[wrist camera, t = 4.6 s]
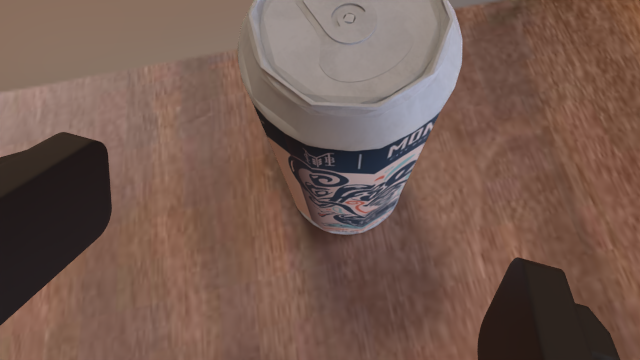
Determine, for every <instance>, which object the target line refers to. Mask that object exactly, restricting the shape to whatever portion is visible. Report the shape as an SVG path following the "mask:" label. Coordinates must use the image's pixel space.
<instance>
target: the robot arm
mask: <svg viewBox="0 0 640 360" xmlns="http://www.w3.org/2000/svg"><path fill="white" fill-rule="evenodd" d="M111 210H112V205H111V191H110V177H109V163H108V152H107V149H106V147H105V145H104V144H103V143H101V142H99V141H96V140H92V139H88V138H85V137H81V136H77V135H74V134H70V133H66V132H62V133H58V134H56V135H54V136H52V137H50V138H48V139H47V140H45V141H43V142H41V143H39V144H37V145H35V146H33V147H32V148H30V149H28V150H25V151H22V152H18V153H14V154H11V155H7V156H4V157H0V325H1V324H3V323H4V322H5V321H6V320H7V319H8V318H9V317H10V316H11V315H13V314H14V313H15V312H16V311H17V310H18V309H19V308H20V307H22V306H23V305H24V304H25V303H26V302H27V301H28V300H29V299H30V298H32V297H33V296H34V295H35V294H36V293H37V292H38V291H39V290H40V289H42V288H43V287H44V286H45V285H46V284H47V283H48V282H49V281H51V280H52V279H53V278H54V277H55V276H56V275H57V274H58V273H59V272H61V271H62V270H63V269H64V268H65V267H66V266H67V265H68V264H70V263H71V262H72V261H73V260H74V259H75V258H76V257H77V256H78V255H80V254H81V253H82V252H83V251H84V250H85V249H86V248H87V247H88V246H90V245H91V244H92V243H93V242H94V241H95V240H96V239H97V238H98V237H99V236H100V235H101V234H102V233H103V232H104V230H105V229H106V227H107V225H108V222H109V220H110V216H111ZM478 360H620V358H619V355H618V353H617V350H616V348H615V345H614V343H613V340H612V338H611V335H610V333H609V332H608V331H607V329H606V328H605V327H604V326H603V325H602V323H601V322H600V321H599V320H598V318H597V317H596V316H595V315H594V314H593V312H592V311H591V310H590V309H589V308H588V307H587V306H583V305H580V304H576V303H575V302H574V299H573V296H572V293H571V291H570V288H569V285H568V282H567V279H566V276H565V273H564V272H563V270H561V269H558V268H555V267H551V266H547V265H544V264H540V263H536V262H533V261H529V260H526V259H522V258H518V257H517V258H515V259H514V260H513V261H512V262H511V264H510V265H509V267H508V269H507V271H506V273H505V275H504V277H503V279H502V282H501V284H500V286H499V288H498V290H497V292H496V294H495V296H494V298H493V300H492V302H491V304H490V306H489V308H488V310H487V312H486V315H485V317H484V319H483V322H482V325H481V328H480V333H479V338H478Z"/></svg>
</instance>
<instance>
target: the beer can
mask: <svg viewBox="0 0 640 360" xmlns="http://www.w3.org/2000/svg"><path fill="white" fill-rule="evenodd" d="M238 63H239V68H240V72H241V76H242V81H243V83H244V86H245V88H246V90H247V92H248V94H249V96H250V98H251V100H252V102H253V105H254V107H255V109H256V112H257V114H258V116H259V119H260V121H261V123H262V126H263V128H264V130H265V133H266V135H267V138H268V140H269V142H270V145H271V147H272V149H273V152H274V154H275V156H276V159H277V161H278V163H279V166H280V168H281V170H282V173H283V175H284V177H285V180H286V182H287V184H288V187H289V189H290V191H291V194H292V196H293V199H294V202H295V204H296V206H297V208H298V209H299V211H300V212H301V213H302V215H303V216H304V217H305V218H306V219H307V220H309V221H310V222H311V223H312V224H313V225H315V226H317V227H319V228H320V229H322V230H324V231H327V232H330V233H335V234H344V235H350V234H357V233H362V232H365V231H367V230H369V229H371V228H373V227H375V226H377V225H378V224H380V223H381V222H382V221H383V220H385V219H386V218H387V217H388V216H389V215H390V214H391V213H392V211H393V210H394V208H395V206H396V204H397V203H398V199H399V196H400V194H401V192H402V190H403V187H404V185H405V183H406V181H407V179H408V177H409V175H410V173H411V171H412V169H413V167H414V165H415V163H416V161H417V159H418V156H419V154H420V152H421V150H422V148H423V146H424V144H425V142H426V140H427V138H428V136H429V134H430V132H431V130H432V127H433V125H434V123H435V121H436V119H437V117H438V115H439V113H440V111H441V109H442V108H443V106H444V104H445V103H446V101H447V99H448V98H449V96H450V95H451V93H452V91H453V90H454V88H455V84H456V81H457V78H458V74H459V71H460V67H461V64H462V36H461V32H460V27H459V24H458V21H457V17H456V14H455V11H454V10H453V8H452V6H451V5H450V3H449V2H448V0H254V1H253V3H252V5H251V7H250V9H249V11H248V13H247V15H246V17H245V19H244V21H243V23H242V26H241V31H240V36H239V42H238Z"/></svg>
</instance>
